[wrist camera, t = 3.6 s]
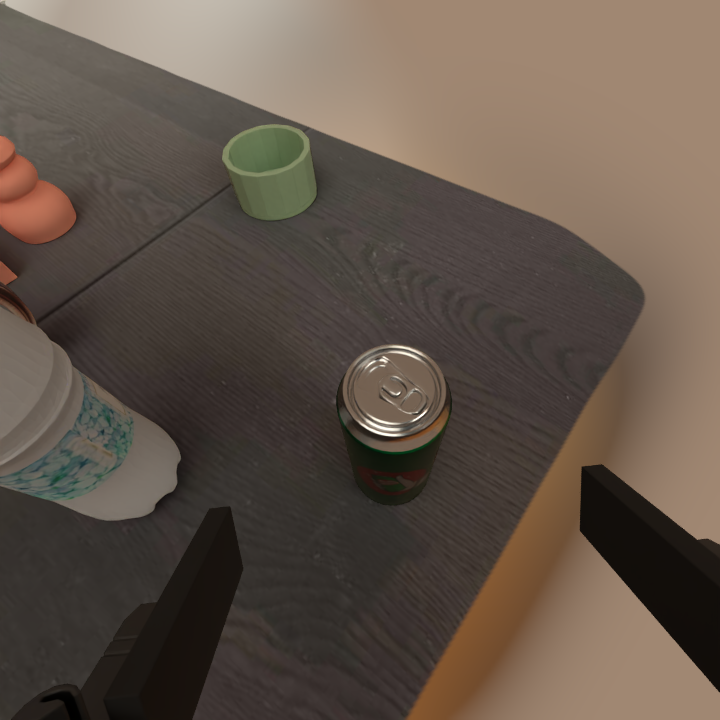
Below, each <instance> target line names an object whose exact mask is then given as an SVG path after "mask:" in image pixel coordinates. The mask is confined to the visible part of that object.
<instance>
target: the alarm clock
mask: <svg viewBox="0 0 720 720" xmlns="http://www.w3.org/2000/svg"><path fill="white" fill-rule="evenodd" d="M0 307H2V308H3V309H5V310H7V311H9V312H10V313H12V314H14V315H16V316H18V317H19V318H21V319H23V320H25V321H27V322H29V323H31V324H33V325H35V326H37V325H36V321H35V319H34V317H33V315H32V313H31V312H30V310H29V309H28V308H27V306H26V305H25V304H24V303H23V302H22V301H21V300H20V299H19V297H18V296H17V295H16V294H15V293H14V292H13V291H12V290H11V289H10V288H8V287H7V286H6V285H5V284H4V283H2V282H1V281H0Z"/></svg>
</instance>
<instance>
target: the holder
mask: <svg viewBox="0 0 720 720" xmlns="http://www.w3.org/2000/svg"><path fill="white" fill-rule="evenodd" d="M222 161H223V163H224V166H225V169H226V171H227V174H228V177H229V179H230V182H231V185H232V187H233V190H234V193H235V195H236V198H237V200H238V202H239V204H240V206H241V208H242V210H243V211H244V212H245V213H246V214H248V215H249V216H251V217H254V218H257V219H261V220H268V221H274V220H282V219H287V218H290V217H293V216H295V215H298V214H300V213H301V212H303V211H304V210H306V209H307V208H308V207H309V206H310V205H311V204H312V203H313V201H314V200H315V198H316V195H317V185H316V177H315V171H314V165H313V159H312V153H311V147H310V141H309V138H308V137H307V136H306V135H305V134H304V133H303V132H302V131H301V130H298V129H296V128H294V127H291V126H287V125H277V124H275V125H274V124H272V125H264V126H257V127H254V128H252V129H249V130H246V131H243V132H241V133H240V134H238V135H237V136H235V137H234V138H232V139H231V140H230V141H229V142H228V144H227V145H226V146H225V148H224V150H223V157H222Z"/></svg>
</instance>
